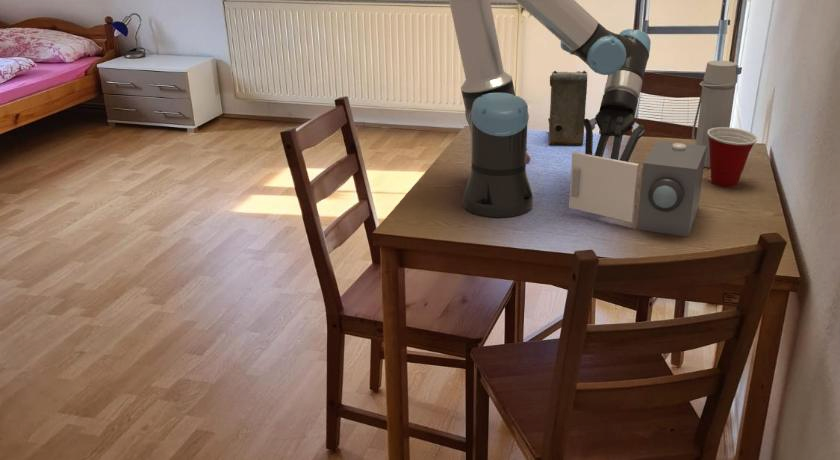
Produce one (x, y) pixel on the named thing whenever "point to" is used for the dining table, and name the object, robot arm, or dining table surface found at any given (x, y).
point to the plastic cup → (728, 154)
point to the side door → (603, 186)
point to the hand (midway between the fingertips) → (597, 194)
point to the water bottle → (714, 101)
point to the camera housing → (670, 188)
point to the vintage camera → (567, 107)
